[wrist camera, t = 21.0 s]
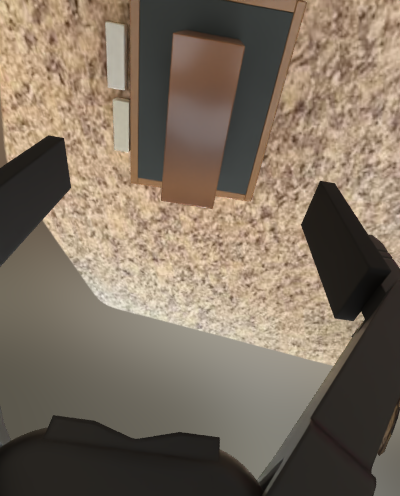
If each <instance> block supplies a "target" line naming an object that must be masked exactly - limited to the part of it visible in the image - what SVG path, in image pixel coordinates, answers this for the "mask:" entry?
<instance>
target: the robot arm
mask: <svg viewBox="0 0 400 496" xmlns="http://www.w3.org/2000/svg"><path fill="white" fill-rule="evenodd" d="M70 188H71V184H70V177H69V170H68V163H67V156H66V149H65V142H64V138H60V137H54V136H47V137H45V138H44V139H42V140H41V141H40V142H38V143H37V144H35V145H34V146H32V147H31V148H29V149H28V150H26V151H25V152H23V153H22V154H20V155H19V156H17V157H16V158H14V159H13V160H11V161H10V162H9V163H7V164H6V165H4V166H3V167H1V168H0V266H1V265H2V264H3V263H4V262H5V261H6V260H7V259H8V257H9V256H10V255H11V254H12V253H13V252H14V251H15V250H16V249H17V247H18V246H19V245H20V244H21V243H22V242H23V241H24V240H25V238H26V237H27V236H28V235H29V234H30V233H31V232H32V231H33V230H34V229H35V227H36V226H37V225H38V224H39V223H40V222H41V221H42V220H43V218H44V217H45V216H46V215H47V214H48V213H49V212H50V211H51V210H52V208H53V207H54V206H55V205H56V204H57V203H58V202H59V201H60V200H61V198H62V197H63V196H64V195H65V194H66V193H67V192H68V191H69V190H70ZM301 226H302V229H303V232H304V234H305V237H306V240H307V243H308V245H309V248H310V251H311V254H312V257H313V259H314V262H315V265H316V268H317V270H318V273H319V276H320V279H321V282H322V284H323V287H324V290H325V293H326V295H327V298H328V301H329V304H330V307H331V309H332V312H333V315H334V318H336V319H343V320H349V321H354V320H355V318H356V317H357V316H358V315H359V313H360V312H362V314H363V316H364V318H365V320H364V321H363V323H362V324H361V325H360V326H359V328H358V329H357V330H356V331H355V333H354V334H353V335H352V339H351V340H350V342H349V344H348V345H347V347H346V348H345V350H344V351H343V353H342V354H341V356H340V357H339V359H338V360H337V362H336V363H335V365H334V366H333V368H332V369H331V371H330V373H329V374H328V376H327V377H326V379H325V380H324V382H323V383H322V385H321V386H320V388H319V389H318V391H317V392H316V394H315V395H314V397H313V398H312V400H311V402H310V403H309V405H308V406H307V408H306V409H305V411H304V412H303V414H302V415H301V417H300V418H299V420H298V421H297V423H296V425H295V426H294V427H293V429H292V431H291V432H290V434H289V435H288V437H287V438H286V440H285V441H284V443H283V444H282V446H281V447H280V449H279V450H278V452H277V453H276V455H275V456H274V458H273V459H272V461H271V462H270V463H269V465H268V466H267V467H266V469H265V470H264V471H263V473H262V474H261V476H260V477H259V478H258V480H256V479H255V478H254V476H253V475H252V474H251V473H250V472H249V471H248V469H247V468H245V466H243V464H241V463H240V462H239V461H238V460H237V459H235V458H234V457H232V456H231V455H229V454H228V453H226V452H224V451H222V450H220V449H219V447H220V445H219V444H220V438H219V437H212V436H205V435H197V434H189V433H182V432H178V433H171V434H165V435H159V436H153V437H147V438H140V439H134V438H130V437H128V436H126V435H124V434H122V433H120V432H117V431H115V430H113V429H111V428H109V427H107V426H104V425H102V424H100V423H98V422H96V421H91V420H84V419H76V418H69V417H62V416H54V415H53V417H52V419H51V422H50V424H49V426H48V428H43V429H39V430H35V431H32V432H29V433H27V434H24V435H21V436H19V437H17V438H15V439H13V440H10V437H9V434H8V431H7V429H6V426H5V423H4V420H3V416H2V412H1V407H0V496H373V495H374V491H375V488H376V478H375V477H374V476H373V475H372V474H371V469H372V466H373V463H374V460H375V458H376V455H377V453H378V450H379V448H380V445H381V443H382V440H383V438H384V435H385V432H386V430H387V427H388V425H389V422H390V420H391V417H392V415H393V412H394V409H395V407H396V404H397V402H398V399H399V397H400V268H399V267H398V265H397V264H396V262H395V261H394V260H393V259H392V257H391V255H390V254H389V253H387V252H388V251H387V249H386V248H385V246H384V245H383V244H382V243H381V242H380V241H379V240H378V239H377V238H375V237H374V236H373V235H368V234H367V232H366V231H365V229H364V228H363V226H362V225H361V223H360V222H359V220H358V218H357V217H356V215H355V214H354V212H353V211H352V209H351V208H350V206H349V205H348V203H347V202H346V200H345V198H344V197H343V195H342V194H341V192H340V191H339V189H338V188H337V186H336V185H335V183H330V182H324V181H320V182H319V185H318V187H317V189H316V192H315V194H314V196H313V199H312V201H311V203H310V205H309V208H308V210H307V212H306V215H305V217H304V219H303V221H302V224H301Z"/></svg>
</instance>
